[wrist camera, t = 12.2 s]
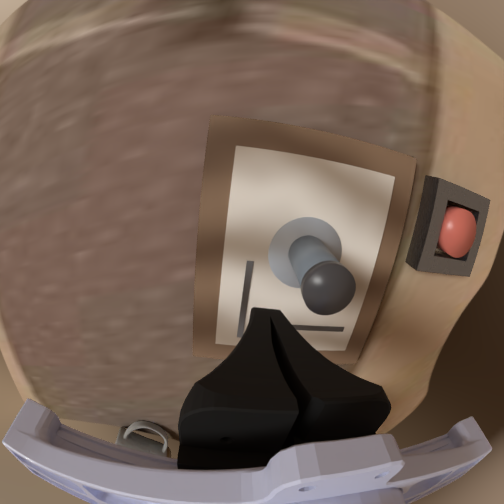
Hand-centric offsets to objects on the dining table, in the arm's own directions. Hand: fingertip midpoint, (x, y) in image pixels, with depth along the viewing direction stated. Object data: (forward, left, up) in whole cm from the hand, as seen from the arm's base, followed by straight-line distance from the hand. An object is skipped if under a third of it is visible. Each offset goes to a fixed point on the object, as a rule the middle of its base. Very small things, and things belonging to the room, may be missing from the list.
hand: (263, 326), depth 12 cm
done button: (+5, -18, -9) cm, 20 cm away
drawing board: (0, -4, -9) cm, 10 cm away
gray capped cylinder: (+1, -4, -8) cm, 9 cm away
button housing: (+5, -18, -9) cm, 20 cm away
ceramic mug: (-30, +12, -10) cm, 34 cm away
